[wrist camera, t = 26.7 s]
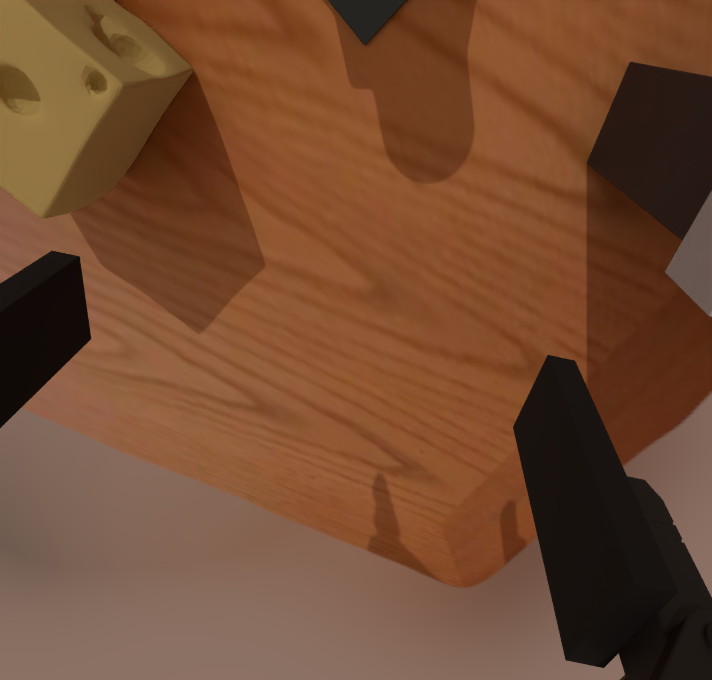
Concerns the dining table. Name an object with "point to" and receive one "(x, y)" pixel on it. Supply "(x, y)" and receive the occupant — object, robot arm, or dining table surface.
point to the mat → (366, 15)
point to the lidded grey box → (665, 163)
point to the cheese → (77, 98)
